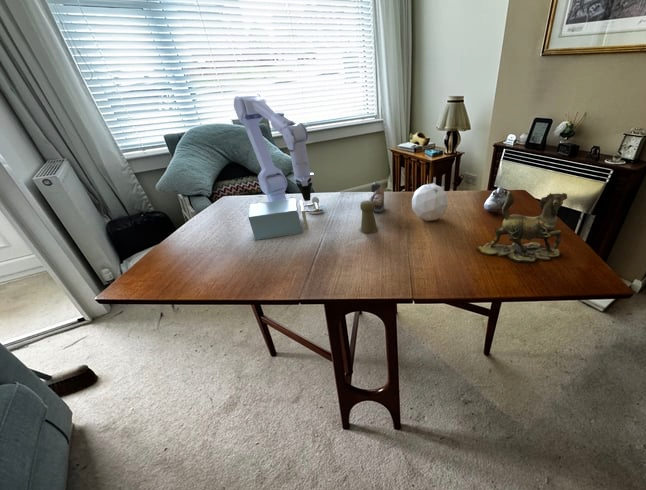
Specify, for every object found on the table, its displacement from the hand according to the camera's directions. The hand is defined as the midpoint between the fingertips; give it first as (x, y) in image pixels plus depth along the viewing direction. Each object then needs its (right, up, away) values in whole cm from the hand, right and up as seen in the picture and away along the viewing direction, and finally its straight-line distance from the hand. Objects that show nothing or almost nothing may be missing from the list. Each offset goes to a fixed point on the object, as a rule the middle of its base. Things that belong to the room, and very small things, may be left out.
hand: (307, 199), depth 115 cm
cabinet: (-12, -11, +3) cm, 16 cm away
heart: (+74, -4, +9) cm, 75 cm away
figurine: (+72, -21, -17) cm, 77 cm away
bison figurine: (+26, 0, +17) cm, 31 cm away
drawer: (-6, -9, +4) cm, 12 cm away
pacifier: (0, -2, +16) cm, 16 cm away
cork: (+23, -12, +1) cm, 26 cm away
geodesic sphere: (+47, -6, +7) cm, 48 cm away
